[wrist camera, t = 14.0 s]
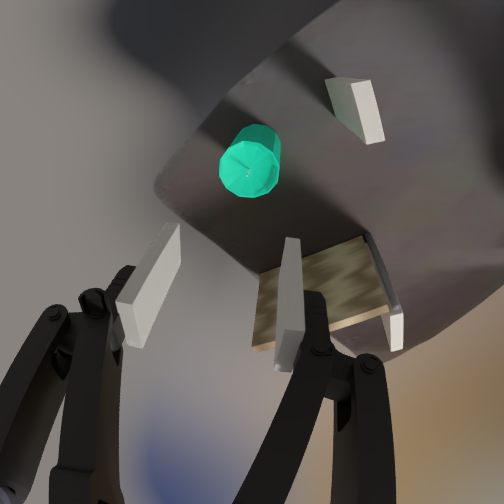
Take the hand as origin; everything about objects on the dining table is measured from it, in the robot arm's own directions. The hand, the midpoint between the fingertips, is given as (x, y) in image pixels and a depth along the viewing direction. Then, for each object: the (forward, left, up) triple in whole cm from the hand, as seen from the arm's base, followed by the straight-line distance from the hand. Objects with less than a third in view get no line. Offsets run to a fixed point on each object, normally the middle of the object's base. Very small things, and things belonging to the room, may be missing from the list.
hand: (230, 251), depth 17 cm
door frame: (-11, +9, -25) cm, 29 cm away
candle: (0, 0, -25) cm, 25 cm away
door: (-2, +19, -25) cm, 31 cm away
